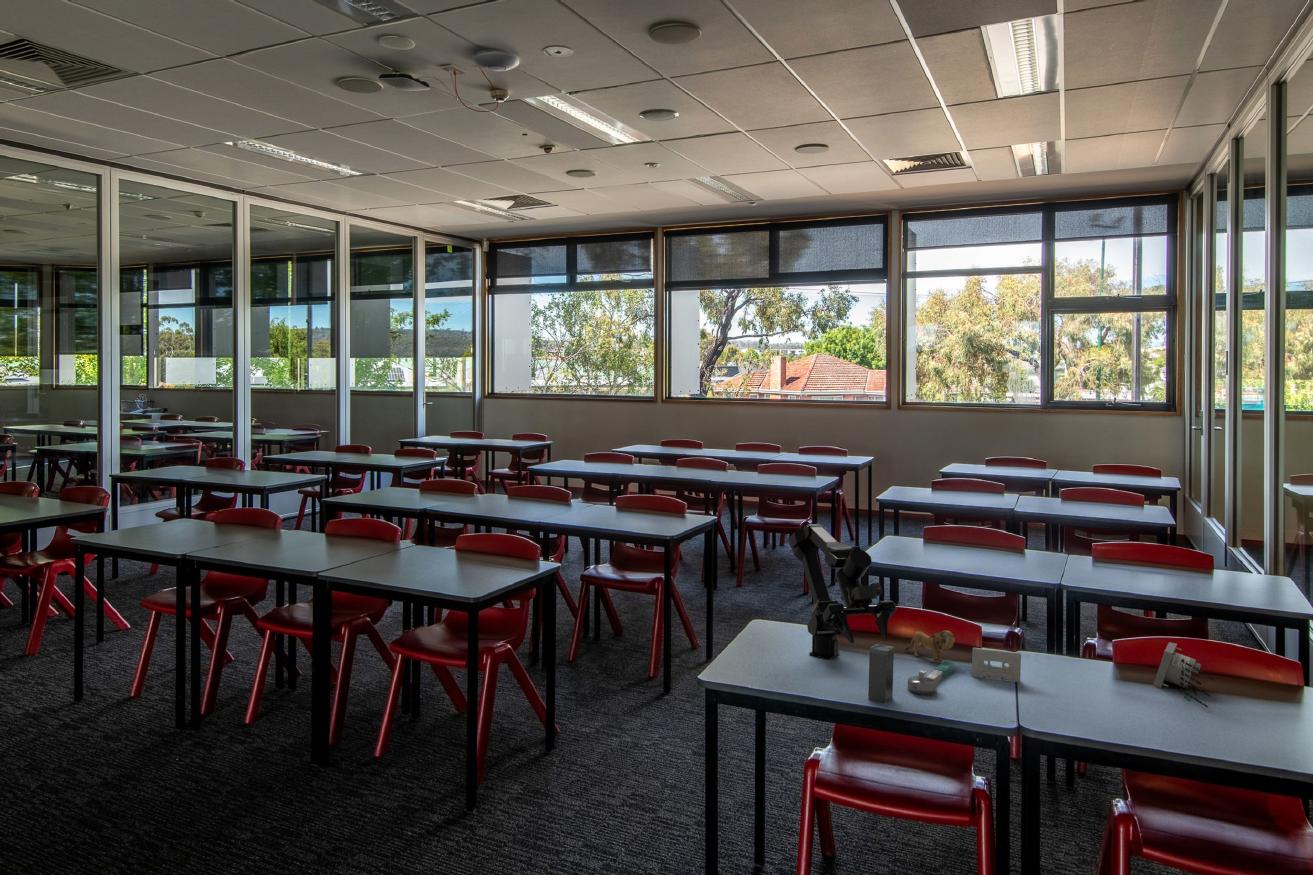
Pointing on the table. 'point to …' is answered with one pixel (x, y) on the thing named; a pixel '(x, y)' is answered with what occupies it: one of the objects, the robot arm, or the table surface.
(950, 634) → the lion figurine
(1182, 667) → the grey pronged block
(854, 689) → the table surface
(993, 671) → the cassette
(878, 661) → the charcoal square pillar
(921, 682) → the ratchet
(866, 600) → the robot arm
